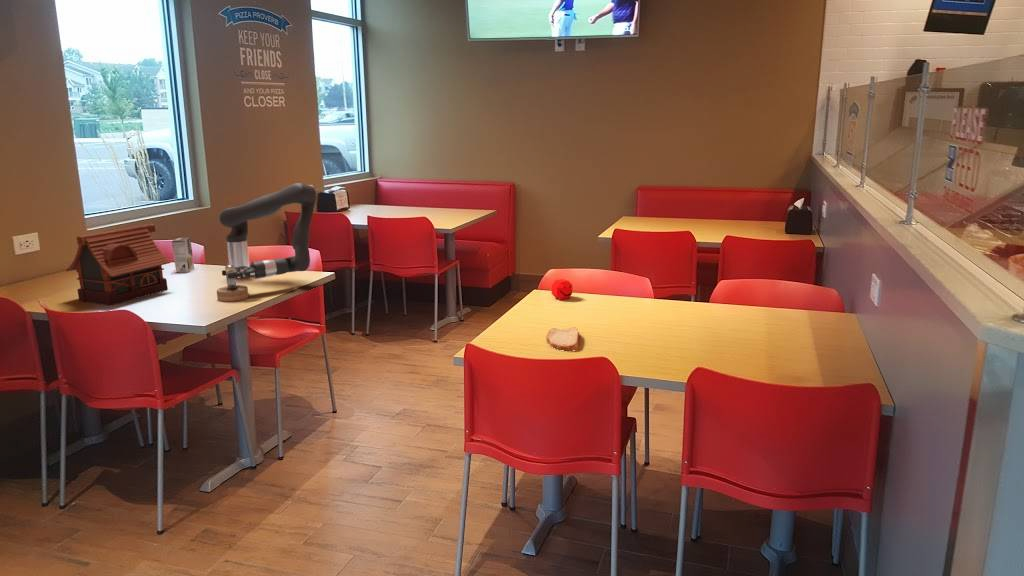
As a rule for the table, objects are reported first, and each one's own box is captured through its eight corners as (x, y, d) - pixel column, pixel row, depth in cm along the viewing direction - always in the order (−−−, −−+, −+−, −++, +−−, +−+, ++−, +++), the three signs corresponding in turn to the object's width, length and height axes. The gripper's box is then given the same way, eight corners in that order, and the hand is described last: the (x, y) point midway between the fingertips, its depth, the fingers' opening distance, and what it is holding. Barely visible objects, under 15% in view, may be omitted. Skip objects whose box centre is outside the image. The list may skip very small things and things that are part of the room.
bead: (214, 297, 312) (213, 288, 311) (242, 292, 320) (241, 283, 319) (223, 302, 303) (222, 293, 302) (252, 297, 311) (251, 288, 310)
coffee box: (181, 268, 369) (177, 237, 365) (194, 268, 370) (190, 237, 366) (175, 272, 360) (171, 240, 356) (188, 272, 361) (185, 240, 357)
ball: (559, 301, 299) (559, 283, 297) (548, 297, 306) (548, 279, 304) (575, 298, 303) (575, 281, 301) (564, 294, 310) (564, 277, 308)
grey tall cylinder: (227, 297, 312) (223, 265, 308) (236, 296, 314) (232, 264, 311) (230, 299, 309) (226, 267, 305) (239, 297, 311) (235, 265, 308)
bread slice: (570, 354, 237) (570, 343, 236) (529, 343, 249) (529, 332, 248) (603, 341, 249) (603, 331, 248) (562, 331, 261) (562, 321, 260)
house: (113, 308, 297) (102, 238, 290) (67, 301, 309) (55, 234, 302) (182, 288, 328) (174, 225, 321) (138, 283, 340) (129, 221, 333)
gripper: (256, 258, 322) (218, 263, 312) (268, 263, 311) (229, 268, 301) (258, 274, 324) (220, 280, 314) (270, 280, 313) (231, 286, 303)
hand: (225, 274), depth 307 cm, fingers open, 6 cm apart
